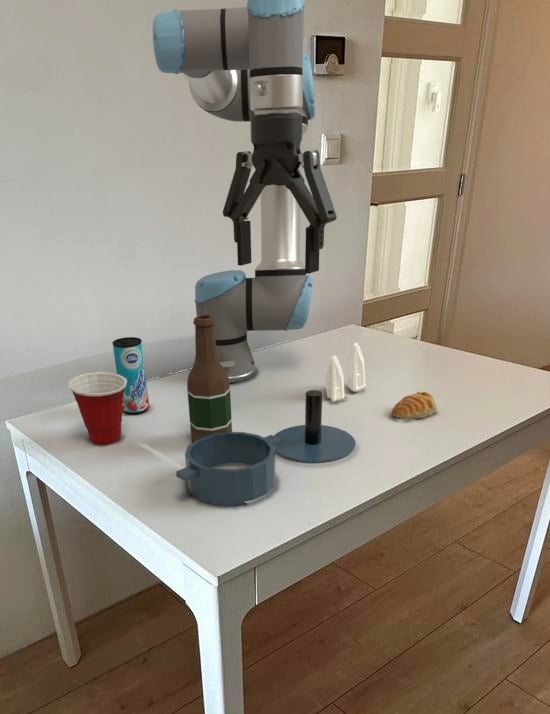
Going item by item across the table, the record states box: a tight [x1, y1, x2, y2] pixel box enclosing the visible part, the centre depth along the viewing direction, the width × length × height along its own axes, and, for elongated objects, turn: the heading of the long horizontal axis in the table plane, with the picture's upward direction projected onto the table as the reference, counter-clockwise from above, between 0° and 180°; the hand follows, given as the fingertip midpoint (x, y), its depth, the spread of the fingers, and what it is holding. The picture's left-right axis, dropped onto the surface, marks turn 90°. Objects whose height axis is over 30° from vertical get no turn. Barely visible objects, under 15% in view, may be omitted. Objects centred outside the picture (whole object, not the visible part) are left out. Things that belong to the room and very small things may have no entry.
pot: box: [175, 431, 280, 507], centre depth 105 cm, size 15×20×6 cm
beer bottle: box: [186, 315, 233, 444], centre depth 114 cm, size 8×8×24 cm
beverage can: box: [112, 336, 150, 415], centre depth 132 cm, size 6×6×15 cm
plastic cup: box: [67, 371, 127, 446], centre depth 121 cm, size 11×11×12 cm
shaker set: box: [325, 342, 367, 402], centre depth 137 cm, size 12×4×11 cm, turn 129°
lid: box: [273, 389, 356, 464], centre depth 115 cm, size 16×16×11 cm
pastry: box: [392, 391, 438, 420], centre depth 128 cm, size 9×7×4 cm
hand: (277, 268), depth 102 cm, fingers open, 13 cm apart
